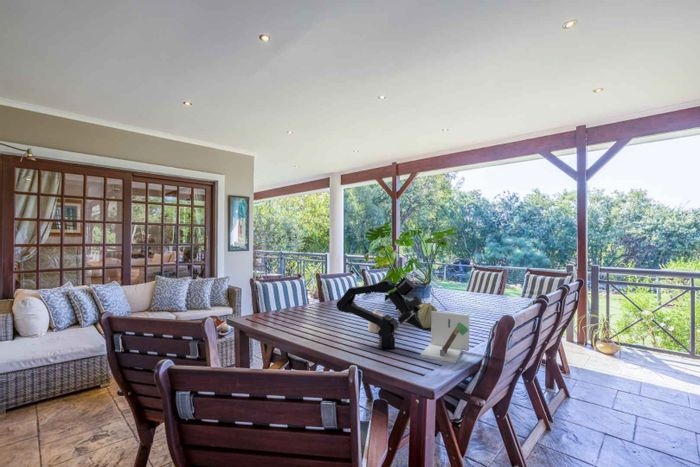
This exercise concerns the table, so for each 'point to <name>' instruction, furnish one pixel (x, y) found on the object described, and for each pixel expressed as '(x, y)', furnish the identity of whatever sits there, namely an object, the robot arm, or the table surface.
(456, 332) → the lever
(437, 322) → the gauge base
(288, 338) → the table surface
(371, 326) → the teacup with lid
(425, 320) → the cantaloupe
